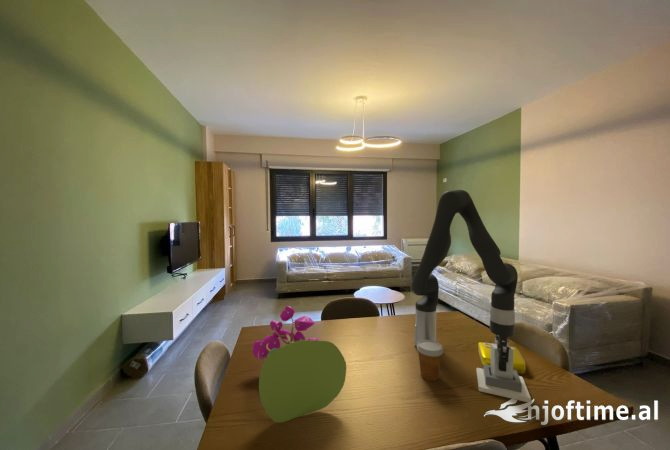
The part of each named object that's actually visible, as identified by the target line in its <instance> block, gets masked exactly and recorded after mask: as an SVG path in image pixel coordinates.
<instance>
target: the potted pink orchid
mask: <svg viewBox="0 0 670 450" xmlns="http://www.w3.org/2000/svg"><path fill="white" fill-rule="evenodd" d="M295 312H296V311H295V309H294V308H293V307H291V306H290V305H286V306H284V308H283V310H281V313H280V315H279V317H280V319H281V321H278V320H271V321H270V322H269V327H270V329H271V330H272V331H274V332H273V333H272V335H266V336H265V337H264V338H263V339H262V340H256V341H254V342H253V344H252V355H253V356H254V358H256V359H257V360H258V359H259V360H265V361H264V362H263V364H262V367H261V369H260V374H259V379H258V391H259V392H258V393H259V399H260V401H261V404H262V407H263V409H264V410H265V412H266V413H267V415H268V417H269V418H270V419H271V420H272V421H273V422H274V423H277V424H278V423H284V422H288V421H291V420H294V419H296V418H300V417H302V416H303V417H304V416H306V415H309V414H311V413H314V412H317V411H320V410H322V409H324V408H326V407H327V406H329V405H330V404H331V403H332V402H333V401H334V400H335V399H336V398H337V397H338V395H339V394H340V393H341V392H342V389H343V387H344V385H345V381H346V375H347V363H346V359H345V357H344V356H343V353H342V352H341V350H340V349H339V347H337V346H336V345H335V343H333V342H331V341H329V340H320V339H319V338H317V337H309V338H308V339H306V337H305V335H304V334H303V333H302V332H304V331H307V330H308V329H309V328H311V327H312V326H314V324H315V321H314V320H313V319H312V318H311V317H309V316H305V315H303V316H300V317H299V318H296V319H293V317H294V315H295ZM289 320H291V322H292V324H291V330H290V331H289V330H288V329H283V328H282V327H283V322H287V321H289ZM282 321H283V322H282ZM294 328H295V330H296V332H295V333H294ZM279 338H280V339H281V341H282V342H283V343H285V345H283V346H281V341H280V339H279ZM287 341H288V342H287Z"/></svg>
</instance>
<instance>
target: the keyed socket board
mask: <svg viewBox="0 0 670 450" xmlns="http://www.w3.org/2000/svg"><path fill="white" fill-rule="evenodd" d="M482 366H483V365H482ZM475 372H476V377H477V378H476V379H477V387H478V391H479V392H481V393H486V394H491V395H495V396H499V397H503V398H508V399H512V400H516V401H521V402H526V403H529V404H531V403H532V397H531V395H530V392H529V390H528V387H527V384H526V382H525V380H524V378H523V376H520V375H519V373H517V370H513V380H511V379H507V378H502V377H497V376H492V375H491V365H486V364H484V366H483V368H480V367H476V371H475Z"/></svg>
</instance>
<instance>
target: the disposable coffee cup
mask: <svg viewBox="0 0 670 450" xmlns="http://www.w3.org/2000/svg"><path fill="white" fill-rule="evenodd" d="M416 349H417V352H418V360H419V361H418V362H419V369H420V376H421V377H422V378H423V379H424V380H426V381H437V380H438V379H439V377H440V370H441V369H440V368H441V362H442V356H443V353H444V348H443V345H442V344H441V343H439V342H438V341H436V342H435V341H432V340H421V341H419V342H418V345H417V346H416Z"/></svg>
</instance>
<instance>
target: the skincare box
mask: <svg viewBox="0 0 670 450" xmlns="http://www.w3.org/2000/svg"><path fill="white" fill-rule="evenodd" d="M510 346H511V345H509V346H508V347H509V357H508V362H506V372H504V371H500V370H499V359H498V357H499V353H498V352H497V344H495V343H492V342H491V375H492V376H497V377H502V378H507V379H511V380H513V349H512V348H511V347H510ZM499 350H500V349H499ZM502 357H505V356H502Z"/></svg>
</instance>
